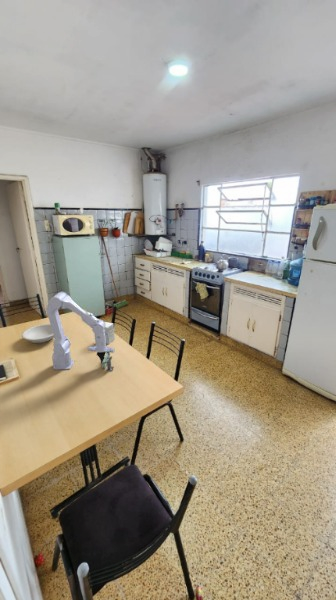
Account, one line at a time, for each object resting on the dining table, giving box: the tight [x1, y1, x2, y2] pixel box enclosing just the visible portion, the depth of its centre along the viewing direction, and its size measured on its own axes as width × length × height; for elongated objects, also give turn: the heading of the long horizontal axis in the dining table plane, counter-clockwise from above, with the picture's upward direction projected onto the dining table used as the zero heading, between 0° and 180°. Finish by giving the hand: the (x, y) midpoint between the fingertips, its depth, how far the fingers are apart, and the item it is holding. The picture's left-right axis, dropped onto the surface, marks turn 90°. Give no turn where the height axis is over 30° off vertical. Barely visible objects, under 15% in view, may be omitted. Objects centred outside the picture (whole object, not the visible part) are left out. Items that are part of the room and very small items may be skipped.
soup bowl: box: [21, 323, 54, 344], centre depth 175 cm, size 24×24×7 cm
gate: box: [101, 353, 109, 370], centre depth 146 cm, size 10×1×4 cm, turn 179°
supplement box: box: [104, 321, 116, 345], centre depth 171 cm, size 7×7×13 cm
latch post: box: [106, 359, 114, 372], centre depth 142 cm, size 3×4×6 cm
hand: (102, 362), depth 146 cm, fingers closed
